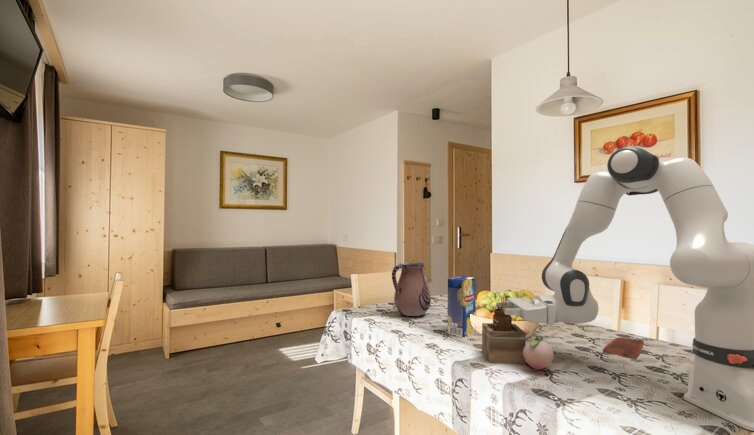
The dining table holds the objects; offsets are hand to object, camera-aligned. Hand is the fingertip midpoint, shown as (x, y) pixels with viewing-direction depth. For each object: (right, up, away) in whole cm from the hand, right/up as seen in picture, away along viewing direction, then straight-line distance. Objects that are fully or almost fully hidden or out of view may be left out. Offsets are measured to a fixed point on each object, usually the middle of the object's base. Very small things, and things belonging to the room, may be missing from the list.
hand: (500, 308), depth 123 cm
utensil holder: (+1, -8, +1) cm, 8 cm away
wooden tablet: (+49, -18, +11) cm, 53 cm away
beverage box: (-7, -17, +27) cm, 33 cm away
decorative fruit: (+7, -16, -12) cm, 21 cm away
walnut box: (+1, -16, 0) cm, 16 cm away
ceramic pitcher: (-25, -18, +56) cm, 64 cm away
